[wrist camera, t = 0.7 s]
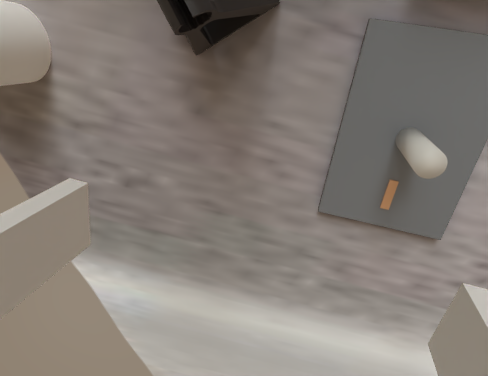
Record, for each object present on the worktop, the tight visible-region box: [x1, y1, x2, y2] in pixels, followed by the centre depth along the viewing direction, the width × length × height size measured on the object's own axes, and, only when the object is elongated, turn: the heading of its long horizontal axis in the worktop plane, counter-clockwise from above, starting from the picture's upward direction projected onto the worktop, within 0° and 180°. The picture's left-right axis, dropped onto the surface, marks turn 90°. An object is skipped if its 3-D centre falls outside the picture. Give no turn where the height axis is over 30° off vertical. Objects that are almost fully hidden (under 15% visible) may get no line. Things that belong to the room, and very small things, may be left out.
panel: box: [318, 18, 488, 240], centre depth 27 cm, size 18×12×8 cm, turn 171°
